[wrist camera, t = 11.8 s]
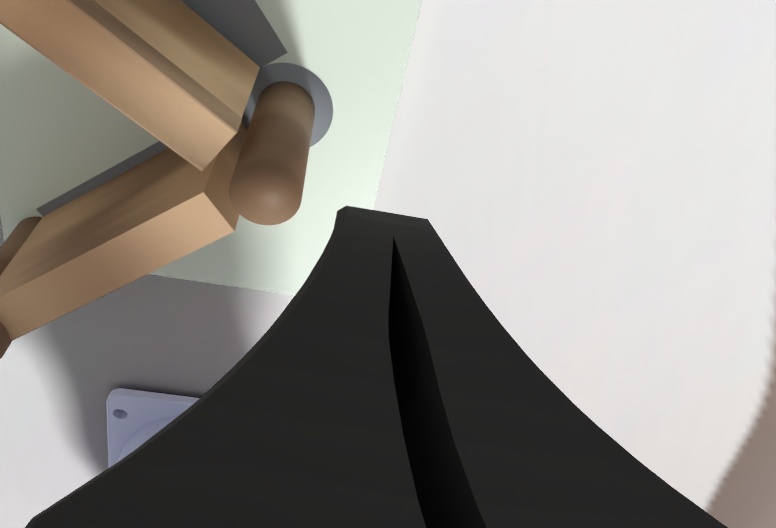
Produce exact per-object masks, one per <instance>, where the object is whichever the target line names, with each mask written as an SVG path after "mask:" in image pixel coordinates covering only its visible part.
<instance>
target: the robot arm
mask: <svg viewBox="0 0 776 528" xmlns="http://www.w3.org/2000/svg"><path fill="white" fill-rule="evenodd" d="M106 409H107V438H108V467H109V468H108V469H107V470H105V471H104V472H102V473H101V474H99V475H98V476H96V477H95V478H93V479H91V480H90V481H88V482H87V483H85V484H84V485H82V486H81V487H79V488H78V489H76V490H75V491H73V492H72V493H70V494H69V495H67V496H66V497H64V498H62V499H61V500H59V501H58V502H56V503H55V504H53V505H52V506H50V507H49V508H47V509H46V510H44V511H42V512H41V513H39V514H38V515H36V516H35V517H33V518H32V519H31V520H30V522H29V523H28V524H27V526H26V527H25V528H727V527H726V526H725V525H723V524H722V523H720V522H719V521H718V520H716V519H715V518H713V517H712V516H711V515H709V514H708V513H707V512H705V511H704V510H703V509H701V508H700V507H698V506H697V505H696V504H694V503H693V502H692V501H690V500H689V499H687V498H686V497H685V496H683V495H682V494H681V493H679V492H678V491H677V490H675V489H674V488H672V487H671V486H670V485H669V484H667V483H666V482H665V481H663V480H662V479H661V478H660V477H658V476H657V475H656V474H655V473H653V472H652V471H651V470H649V469H648V468H647V467H646V466H644V465H643V464H642V463H641V462H639V461H638V460H637V459H636V458H634V457H633V456H632V455H631V454H630V453H629V452H627V451H626V450H625V449H624V448H623V447H622V446H620V445H619V444H618V443H617V442H616V441H615V440H613V439H612V438H611V437H610V436H609V435H608V434H606V433H605V432H604V431H603V430H602V429H601V428H599V427H598V426H597V425H596V424H595V423H594V422H593V421H592V420H591V419H590V418H588V417H587V416H586V415H585V414H584V413H583V412H582V411H581V410H580V409H579V408H578V407H577V406H576V405H574V404H573V403H572V402H571V401H570V400H569V399H568V397H567V396H566V395H565V394H564V393H563V392H562V391H561V390H560V389H559V388H558V387H557V386H556V385H555V384H554V383H553V382H552V381H551V380H550V379H549V378H548V377H547V376H546V375H545V374H544V373H543V372H542V371H541V370H540V369H539V368H538V367H537V366H536V365H535V364H534V362H533V361H532V360H531V359H530V358H529V357H528V356H527V355H526V354H525V352H524V351H523V350H522V349H521V348H520V346H519V345H518V344H517V343H516V342H515V340H514V339H513V338H512V337H511V336H510V335H509V333H508V332H507V331H506V330H505V329H504V327H503V326H502V325H501V324H500V322H499V321H498V320H497V319H496V317H495V316H494V315H493V313H492V312H491V311H490V310H489V308H488V307H487V306H486V304H485V303H484V302H483V300H482V299H481V298H480V296H479V295H478V293H477V292H476V291H475V289H474V288H473V286H472V285H471V284H470V282H469V281H468V279H467V278H466V277H465V275H464V274H463V272H462V271H461V269H460V268H459V266H458V265H457V263H456V262H455V260H454V259H453V257H452V256H451V254H450V253H449V251H448V249H447V248H446V246H445V245H444V243H443V242H442V240H441V239H440V237H439V236H438V234H437V233H436V231H435V230H434V228H433V227H432V225H431V224H430V222H429V221H428V219H423V218H417V217H411V216H405V215H399V214H393V213H387V212H381V211H376V210H370V209H364V208H358V207H352V206H345V207H343V208H341V209H340V210H338V211H337V214H336V219H335V224H334V229H333V232H332V234H331V237H330V239H329V241H328V243H327V245H326V247H325V249H324V251H323V253H322V255H321V256H320V258H319V260H318V261H317V263H316V265H315V266H314V268H313V270H312V271H311V273H310V275H309V276H308V278H307V279H306V281H305V282H304V284H303V285H302V287H301V288H300V290H299V291H298V292H297V294H296V295H295V296H294V298H293V299H292V300H291V302H290V303H289V304H288V306H287V307H286V308H285V310H284V311H283V312H282V314H281V315H280V316H279V318H278V319H277V320H276V321H275V322H274V324H273V325H272V326H271V327H270V328H269V330H268V331H267V332H266V333H265V334H264V335H263V337H262V338H261V339H260V340H259V341H258V342H257V343H256V344H255V345H254V346H253V347H252V349H251V350H250V351H249V352H248V353H247V354H246V355H245V356H244V357H243V358H242V359H241V360H240V361H239V362H238V363H237V364H236V365H235V366H234V367H233V368H232V369H231V370H230V371H229V372H228V373H227V374H226V375H225V376H224V377H222V378H221V379H220V380H219V381H218V382H217V383H216V384H215V385H214V386H213V387H212V388H211V389H210V390H209V391H208V392H206V393H205V394H204V395H203V396H202V397H201V398H195V397H187V396H179V395H171V394H163V393H155V392H148V391H140V390H132V389H124V388H117V389H114V390H112V391H111V392H110V393H109V396H108V398H107V401H106ZM119 409H121V410H119ZM122 410H124V411H122Z"/></svg>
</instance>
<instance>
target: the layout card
mask: <svg viewBox="0 0 776 528" xmlns="http://www.w3.org/2000/svg"><path fill="white" fill-rule="evenodd" d="M181 1H182V2H184V3H185V4H186V5H187V6H188V7H190V8H191V9H192V10H193V11H194V12H195V13H197V14H198V15H199V16H200V17H201V18H203V19H204V20H205V21H206V22H207V23H208V24H210V25H211V26H212V27H213V28H214V29H216V30H217V31H218V32H219V33H220V34H221V35H223V36H224V37H225V38H226V39H227V40H229V41H230V42H231V43H232V44H233V45H234V46H236V47H237V48H238V49H239V50H240V51H242V52H243V53H244V54H245V55H246V56H247V57H249V58H250V59H251V60H252V61H253V62H255V63H256V64H257V65H258V66H259V67H260V69H259V71H258V74H257V77H256V80H255V82H254V85H253V88H252V91H251V94H250V96H249V99H248V102H247V105H246V107H245V110H244V113H243V116H242V121H241V123H242V124H243V126H244V127H245V128H246V130H248V127H249V124H250V121H251V118H252V115H253V112H254V109H255V106H256V103H257V100H258V97H259V95H260V93H261V92H262V91H263V89H264V88H266V87H267V86H268V85H270V84H272V83H275V82H279V81H288V82H293V83H295V84H298V85H300V86H301V87H303V88H304V89H305V90H306V91H307V92H308V93H309V94H310V96H311V97H312V99H313V102H314V106H315V116H314V123H313V129H312V136H311V142H310V149H309V155H308V162H307V168H306V175H305V181H304V188H303V194H302V201H301V205H300V207H299V209H298V211H297V213H296V214H295V215H294V216H293V217H292V218H290V219H289V220H288V221H286V222H283V223H281V224H277V225H260V224H256V223H253V222H251V221H248V220H247V219H245V218H244V217H242V216H241V215H240V214H239V218H238V221H237V225H236V228H235V231H234V232H232V233H230V234H228V235H226V236H224V237H222V238H220V239H218V240H216V241H214V242H212V243H210V244H208V245H206V246H204V247H202V248H200V249H198V250H196V251H194V252H192V253H190V254H188V255H186V256H183V257H181V258H179V259H177V260H175V261H173V262H171V263H169V264H167V265H165V266H163V267H161V268H159V269H157V270H155V271H153V272H151V273H149V274H151V275H157V276H164V277H171V278H177V279H184V280H191V281H197V282H204V283H211V284H217V285H224V286H231V287H237V288H244V289H251V290H258V291H264V292H271V293H278V294H284V295H291V296H295V295H296V294H297V292H298V291H299V290H300V288H301V287H302V285H303V284H304V282H305V281H306V279H307V278H308V276H309V275H310V273H311V271H312V270H313V268H314V266H315V265H316V263H317V261H318V260H319V258H320V256H321V255H322V253H323V251H324V249H325V247H326V245H327V243H328V241H329V239H330V237H331V234H332V232H333V229H334V224H335V219H336V214H337V211H338V210H340V209H341V208H343V207H345V206H352V207H358V208H364V209H370V210H373V209H374V204H375V200H376V196H377V192H378V187H379V183H380V179H381V174H382V170H383V166H384V162H385V157H386V153H387V149H388V144H389V140H390V136H391V132H392V127H393V123H394V119H395V114H396V110H397V106H398V102H399V97H400V93H401V89H402V84H403V80H404V76H405V71H406V67H407V63H408V59H409V54H410V50H411V46H412V41H413V37H414V33H415V29H416V24H417V20H418V16H419V11H420V7H421V3H422V0H181ZM168 148H169V147H168V146H166V145H165V144H164V143H162V142H161V141H159V140H158V139H157V138H155V137H154V136H153V135H151V134H150V133H149V132H147V131H146V130H144V129H143V128H142V127H140V126H139V125H138V124H136V123H135V122H134V121H132V120H131V119H129V118H128V117H127V116H125V115H124V114H123V113H121V112H120V111H119V110H117V109H116V108H114V107H113V106H112V105H110V104H109V103H108V102H106V101H105V100H104V99H102V98H101V97H99V96H98V95H97V94H95V93H94V92H93V91H91V90H90V89H89V88H87V87H86V86H84V85H83V84H82V83H80V82H79V81H78V80H76V79H75V78H74V77H72V76H71V75H69V74H68V73H67V72H65V71H64V70H63V69H61V68H60V67H59V66H57V65H56V64H54V63H53V62H52V61H50V60H49V59H48V58H46V57H45V56H44V55H42V54H41V53H39V52H38V51H37V50H35V49H34V48H33V47H31V46H30V45H29V44H27V43H26V42H24V41H23V40H22V39H20V38H19V37H18V36H16V35H15V34H14V33H12V32H11V31H9V30H8V29H7V28H5V27H4V26H3V25H1V24H0V216H1V224H2V231H3V239H4V242H5V241H6V239H7V238H8V237H9V235H10V234H11V233H12V231H13V230H14V229H15V227H16V226H17V225H18V224H19V222H20V221H22V220H23V219H25V218H28V217H43V216H45V215H47V214H49V213H50V212H52V211H54V210H56V209H58V208H60V207H62V206H63V205H65V204H67V203H69V202H71V201H73V200H74V199H76V198H78V197H80V196H82V195H84V194H85V193H87V192H89V191H91V190H93V189H95V188H96V187H98V186H100V185H102V184H104V183H106V182H107V181H109V180H111V179H113V178H115V177H117V176H118V175H120V174H122V173H124V172H126V171H128V170H129V169H131V168H133V167H135V166H137V165H139V164H141V163H142V162H144V161H146V160H148V159H150V158H152V157H153V156H155V155H157V154H159V153H161V152H163V151H164V150H166V149H168Z"/></svg>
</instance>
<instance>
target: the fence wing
mask: <svg viewBox="0 0 776 528" xmlns="http://www.w3.org/2000/svg"><path fill="white" fill-rule="evenodd" d="M0 24H1V25H3V26H4V27H5V28H7V29H8V30H9V31H11V32H12V33H14V34H15V35H16V36H18V37H19V38H20V39H22V40H23V41H24V42H26V43H27V44H29V45H30V46H31V47H33V48H34V49H35V50H37V51H38V52H39V53H41V54H42V55H44V56H45V57H46V58H48V59H49V60H50V61H52V62H53V63H54V64H56V65H57V66H59V67H60V68H61V69H63V70H64V71H65V72H67V73H68V74H69V75H71V76H72V77H74V78H75V79H76V80H78V81H79V82H80V83H82V84H83V85H84V86H86V87H87V88H89V89H90V90H91V91H93V92H94V93H95V94H97V95H98V96H99V97H101V98H102V99H104V100H105V101H106V102H108V103H109V104H110V105H112V106H113V107H114V108H116V109H117V110H119V111H120V112H121V113H123V114H124V115H125V116H127V117H128V118H129V119H131V120H132V121H134V122H135V123H136V124H138V125H139V126H140V127H142V128H143V129H144V130H146V131H147V132H149V133H150V134H151V135H153V136H154V137H155V138H157V139H158V140H159V141H161V142H162V143H164V144H165V145H166V146H168V147H169V148H170V149H172V150H173V151H174V152H176V153H177V154H179V155H180V156H181V157H183V158H184V159H185V160H187V161H188V162H190V163H191V164H192V165H194V166H195V167H196V168H198V169H199V170H200V171H203V170H204V168H205V167H206V166H207V165H208V164H209V163H210V162H211V161H212V160H213V159H214V157H215V156H216V155H217V154H218V153H219V152H220V151H221V150H222V149H223V147H224V146H225V145H226V144H227V143H228V142H229V141H230V140H231V139H232V137H233V136H234V135H235V134H236V133H237V132H238V129H239V126H240V124H241V121H242V116H243V113H244V110H245V107H246V105H247V102H248V99H249V96H250V94H251V91H252V88H253V85H254V82H255V80H256V77H257V74H258V71H259V69H260V67H259V66H258V65H257V64H256V63H255V62H253V61H252V60H251V59H250V58H249V57H247V56H246V55H245V54H244V53H243V52H242V51H240V50H239V49H238V48H237V47H236V46H234V45H233V44H232V43H231V42H230V41H229V40H227V39H226V38H225V37H224V36H223V35H221V34H220V33H219V32H218V31H217V30H216V29H214V28H213V27H212V26H211V25H210V24H208V23H207V22H206V21H205V20H204V19H203V18H201V17H200V16H199V15H198V14H197V13H195V12H194V11H193V10H192V9H191V8H190V7H188V6H187V5H186V4H185V3H184V2H182V1H181V0H0Z"/></svg>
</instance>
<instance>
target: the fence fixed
mask: <svg viewBox="0 0 776 528" xmlns="http://www.w3.org/2000/svg"><path fill="white" fill-rule="evenodd" d="M314 116H315V106H314V102H313V99H312V97H311V96H310V94H309V93H308V92H307V91H306V90H305V89H304V88H303V87H301V86H300V85H298V84H295V83H293V82H288V81H279V82H275V83H272V84H270V85H268V86H267V87H266V88H264V89H263V91H262V92H261V93H260V95H259V97H258V100H257V103H256V106H255V109H254V112H253V115H252V118H251V121H250V124H249V127H248V130H246V128H245V127H244V126H243V124H242V123H241V124H240V126H239V129H238V132H237V133H236V134H235V135H234V136H233V137H232V139H231V140H230V141H229V142H228V143H227V144H226V145H225V146H224V147H223V149H222V150H221V151H220V152H219V153H218V154H217V155H216V156H215V157H214V159H213V160H212V161H211V162H210V163H209V164H208V165H207V166H206V167H205V168H204V170H203V171H200V170H199V169H198V168H196V167H195V166H194V165H192V164H191V163H190V162H188V161H187V160H185V159H184V158H183V157H181V156H180V155H179V154H177V153H176V152H174V151H173V150H172V149H170V148H168V149H166V150H164V151H163V152H161V153H159V154H157V155H155V156H153V157H152V158H150V159H148V160H146V161H144V162H142V163H141V164H139V165H137V166H135V167H133V168H131V169H129V170H128V171H126V172H124V173H122V174H120V175H118V176H117V177H115V178H113V179H111V180H109V181H107V182H106V183H104V184H102V185H100V186H98V187H96V188H95V189H93V190H91V191H89V192H87V193H85V194H84V195H82V196H80V197H78V198H76V199H74V200H73V201H71V202H69V203H67V204H65V205H63V206H62V207H60V208H58V209H56V210H54V211H52V212H50V213H49V214H47V215H45V216H43V217H28V218H25V219H23V220H22V221H20V222H19V224H18V225H17V226H16V227H15V229H14V230H13V231H12V233H11V234H10V235H9V237H8V238H7V239H6V241H5V242H4V243H3V244H2V246H1V247H0V359H1V358H2V356H3V355H4V353H5V352H6V350H7V348H8V347H9V345H10V344H11V342H12V340H14V339H16V338H18V337H20V336H22V335H24V334H26V333H29V332H31V331H33V330H35V329H37V328H39V327H41V326H43V325H45V324H47V323H49V322H51V321H53V320H55V319H57V318H59V317H61V316H63V315H65V314H67V313H69V312H71V311H73V310H75V309H77V308H79V307H82V306H84V305H86V304H88V303H90V302H92V301H94V300H96V299H98V298H100V297H102V296H104V295H106V294H108V293H110V292H112V291H114V290H116V289H118V288H120V287H122V286H124V285H126V284H128V283H130V282H132V281H135V280H137V279H139V278H141V277H143V276H145V275H147V274H149V273H151V272H153V271H155V270H157V269H159V268H161V267H163V266H165V265H167V264H169V263H171V262H173V261H175V260H177V259H179V258H181V257H183V256H186V255H188V254H190V253H192V252H194V251H196V250H198V249H200V248H202V247H204V246H206V245H208V244H210V243H212V242H214V241H216V240H218V239H220V238H222V237H224V236H226V235H228V234H230V233H232V232H234V231H235V228H236V225H237V221H238V218H239V214H240V215H241V216H242V217H244V218H245V219H247V220H248V221H251V222H253V223H256V224H260V225H277V224H281V223H283V222H286V221H288V220H289V219H290V218H292V217H293V216H294V215H295V214H296V213H297V211H298V209H299V207H300V205H301V201H302V194H303V188H304V181H305V175H306V168H307V162H308V155H309V149H310V142H311V136H312V129H313V123H314Z"/></svg>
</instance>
